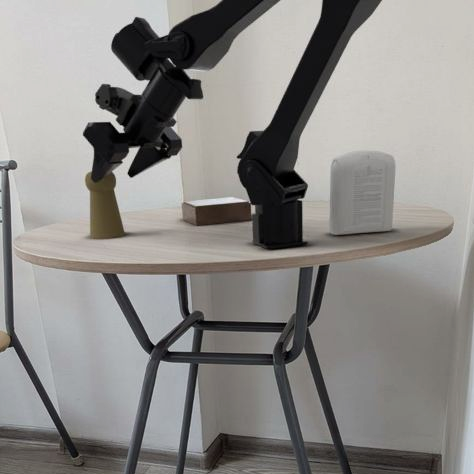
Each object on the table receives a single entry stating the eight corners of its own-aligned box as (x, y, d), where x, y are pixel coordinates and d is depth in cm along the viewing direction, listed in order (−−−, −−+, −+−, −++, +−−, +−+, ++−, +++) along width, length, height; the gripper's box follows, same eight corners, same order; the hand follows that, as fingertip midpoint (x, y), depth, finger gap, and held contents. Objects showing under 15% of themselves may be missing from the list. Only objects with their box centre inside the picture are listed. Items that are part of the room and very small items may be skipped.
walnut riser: (234, 214, 120) (233, 196, 119) (251, 220, 111) (250, 201, 110) (182, 219, 117) (181, 201, 116) (196, 225, 108) (194, 206, 107)
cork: (83, 238, 101) (74, 172, 97) (101, 232, 106) (92, 169, 102) (114, 238, 99) (106, 171, 95) (131, 232, 104) (123, 168, 100)
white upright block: (384, 227, 96) (387, 148, 92) (396, 231, 92) (400, 149, 88) (325, 233, 94) (325, 152, 90) (335, 237, 90) (336, 152, 86)
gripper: (161, 68, 97) (117, 141, 106) (83, 60, 82) (40, 145, 91) (204, 117, 96) (156, 186, 105) (133, 118, 81) (84, 198, 90)
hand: (112, 178), depth 98 cm, fingers open, 9 cm apart
